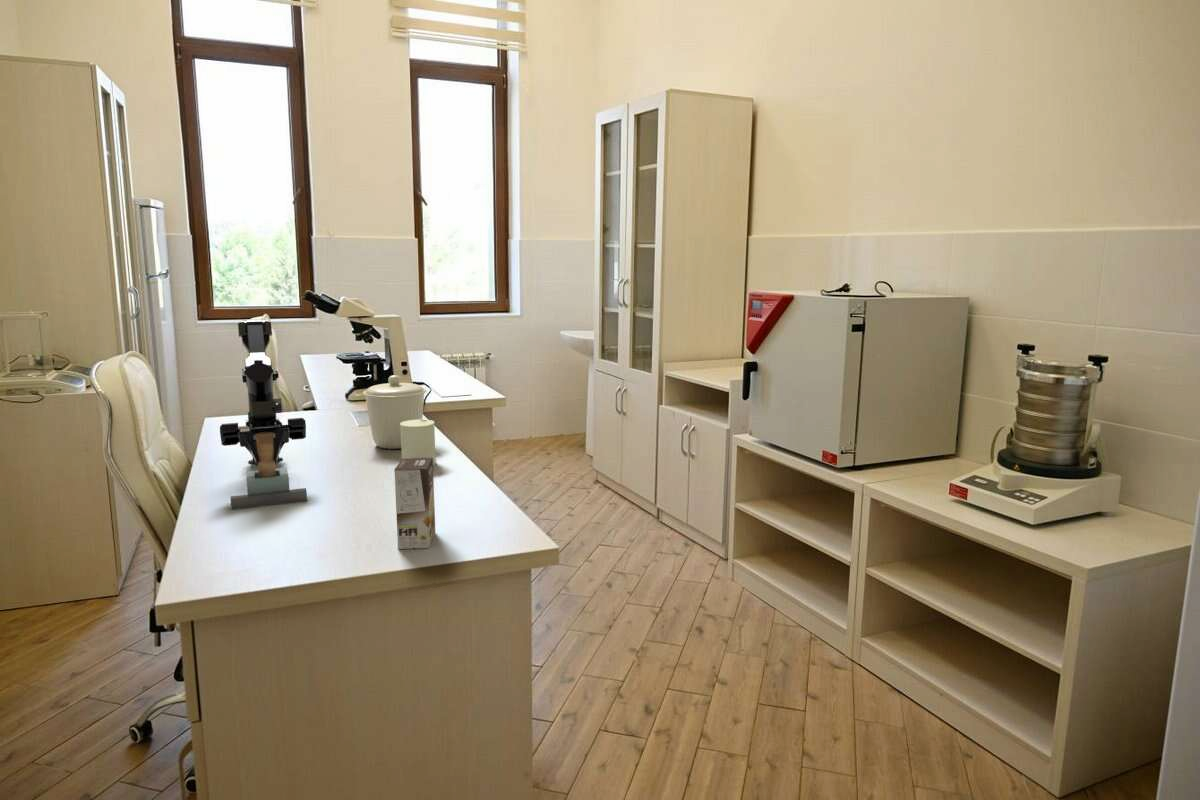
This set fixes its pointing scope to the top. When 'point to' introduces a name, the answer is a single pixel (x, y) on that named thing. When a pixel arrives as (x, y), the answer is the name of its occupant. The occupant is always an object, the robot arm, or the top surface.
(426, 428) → the can
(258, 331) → the robot arm
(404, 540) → the coffee box
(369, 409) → the canister
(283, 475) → the socket block
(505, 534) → the top surface
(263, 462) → the dowel
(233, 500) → the backstop bar
